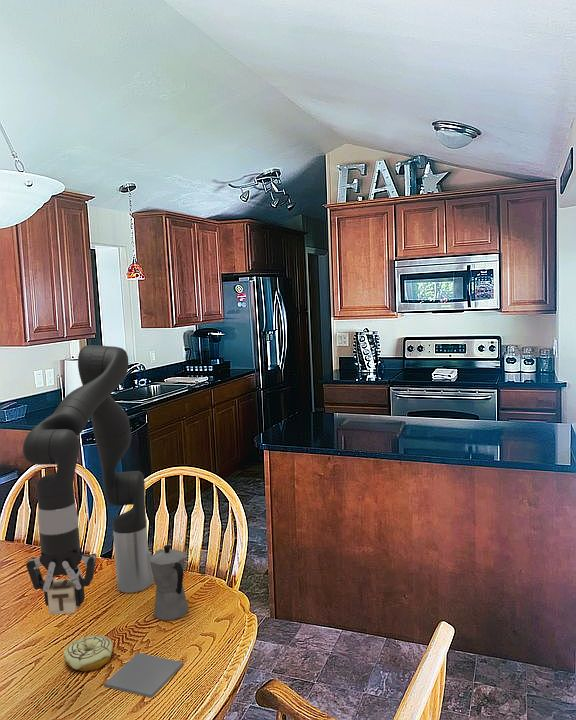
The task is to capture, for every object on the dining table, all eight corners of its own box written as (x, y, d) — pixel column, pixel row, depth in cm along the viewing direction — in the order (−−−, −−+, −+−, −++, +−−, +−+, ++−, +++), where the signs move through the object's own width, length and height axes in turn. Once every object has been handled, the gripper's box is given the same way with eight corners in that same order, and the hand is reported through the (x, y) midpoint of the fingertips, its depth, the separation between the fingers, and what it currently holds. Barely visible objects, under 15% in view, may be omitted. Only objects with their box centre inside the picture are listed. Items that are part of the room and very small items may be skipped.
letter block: (57, 602, 131) (55, 578, 130) (81, 600, 131) (79, 577, 131) (49, 615, 126) (46, 590, 125) (74, 613, 126) (72, 588, 125)
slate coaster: (138, 655, 143) (138, 652, 143) (183, 664, 139) (183, 662, 138) (104, 686, 132) (104, 683, 132) (151, 697, 128) (151, 695, 127)
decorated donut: (73, 680, 135) (71, 664, 135) (59, 658, 144) (58, 642, 143) (119, 662, 141) (118, 646, 140) (104, 642, 150) (103, 627, 149)
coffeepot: (144, 607, 165) (140, 542, 163) (177, 596, 170) (173, 533, 169) (167, 632, 152) (162, 561, 151) (202, 620, 158) (198, 551, 156)
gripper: (15, 535, 123) (23, 617, 125) (89, 530, 123) (96, 612, 125) (29, 521, 130) (36, 599, 132) (98, 517, 131) (105, 594, 133)
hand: (65, 605), depth 129 cm, fingers closed on letter block, 5 cm apart
